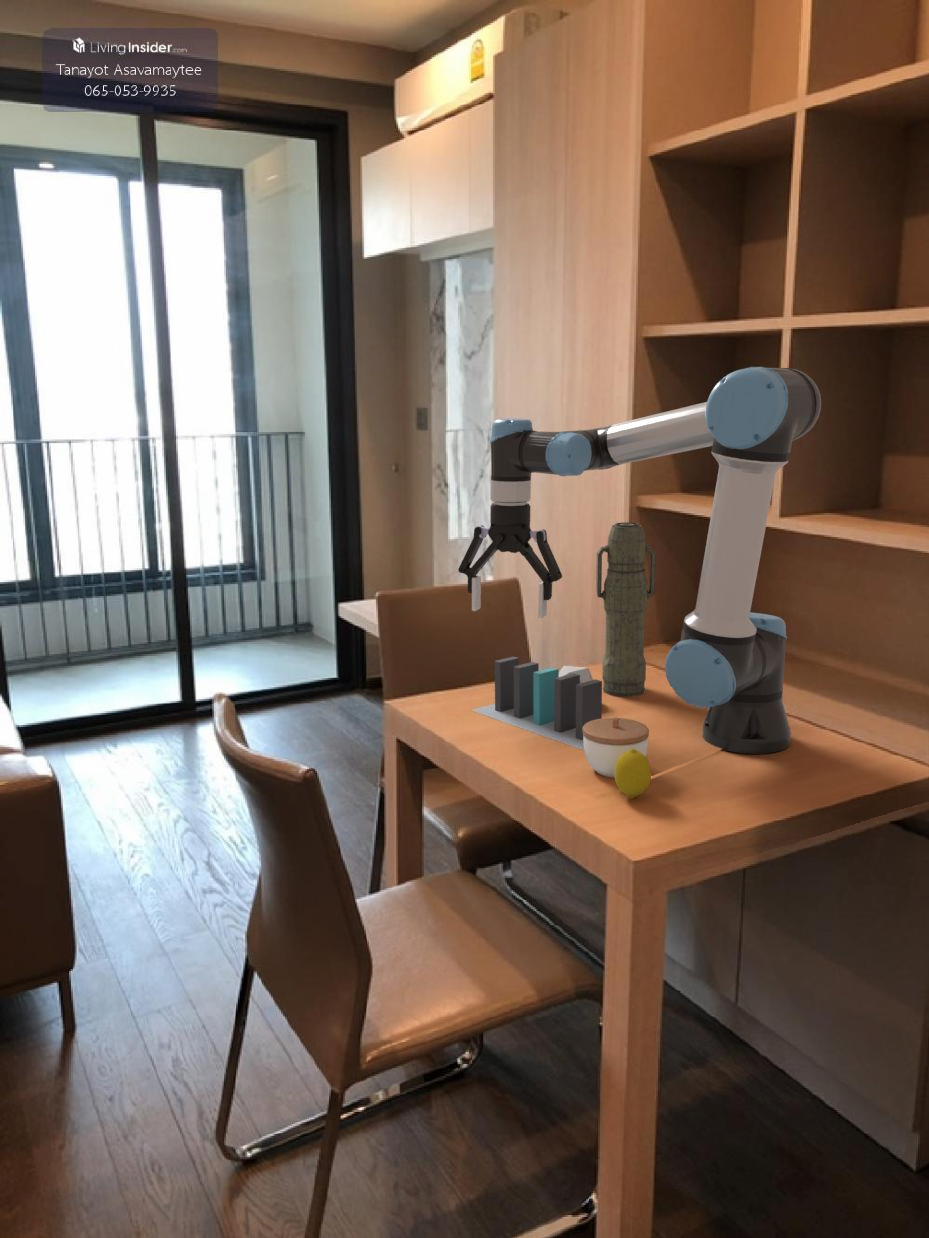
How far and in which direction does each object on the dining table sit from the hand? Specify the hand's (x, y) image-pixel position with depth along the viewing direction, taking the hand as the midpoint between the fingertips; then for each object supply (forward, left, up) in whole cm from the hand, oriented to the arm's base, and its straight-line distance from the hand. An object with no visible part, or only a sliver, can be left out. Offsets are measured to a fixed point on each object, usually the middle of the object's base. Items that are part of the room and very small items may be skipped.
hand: (508, 613), depth 194 cm
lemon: (-45, +15, -20) cm, 51 cm away
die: (-6, -12, -20) cm, 24 cm away
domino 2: (-5, 0, -20) cm, 20 cm away
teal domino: (-10, 0, -20) cm, 22 cm away
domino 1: (+1, 0, -20) cm, 20 cm away
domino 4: (-21, 0, -20) cm, 29 cm away
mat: (-10, 0, -20) cm, 22 cm away
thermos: (-6, -27, -20) cm, 34 cm away
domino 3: (-16, 0, -19) cm, 25 cm away
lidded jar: (-36, +9, -20) cm, 42 cm away
